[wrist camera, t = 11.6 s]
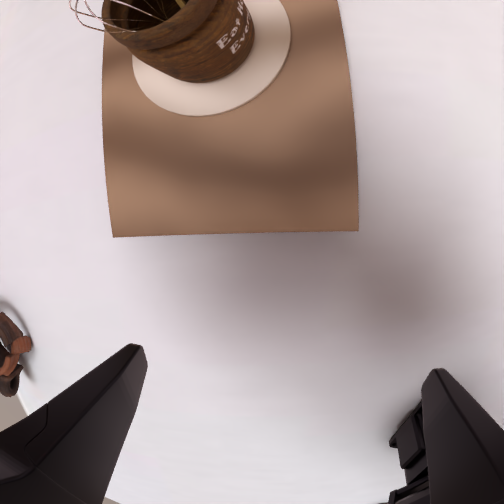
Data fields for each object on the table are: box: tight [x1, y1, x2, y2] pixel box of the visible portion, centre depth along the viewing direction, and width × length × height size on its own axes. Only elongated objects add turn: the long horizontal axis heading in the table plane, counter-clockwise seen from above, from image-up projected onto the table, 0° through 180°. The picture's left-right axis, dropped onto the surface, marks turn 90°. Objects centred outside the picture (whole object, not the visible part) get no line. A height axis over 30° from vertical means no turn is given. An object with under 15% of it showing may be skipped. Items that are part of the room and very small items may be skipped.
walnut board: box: [102, 0, 359, 237], centre depth 16 cm, size 24×16×2 cm, turn 4°
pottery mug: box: [0, 312, 31, 397], centre depth 28 cm, size 12×10×8 cm
